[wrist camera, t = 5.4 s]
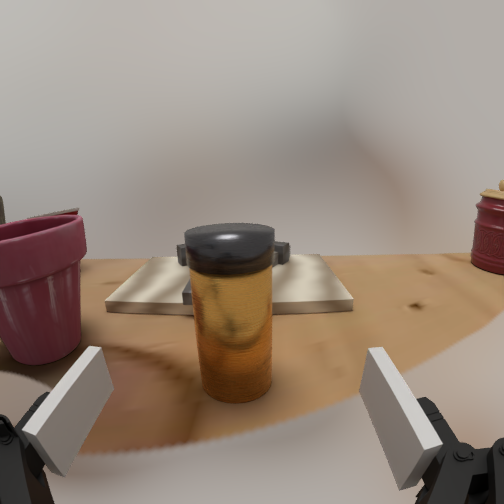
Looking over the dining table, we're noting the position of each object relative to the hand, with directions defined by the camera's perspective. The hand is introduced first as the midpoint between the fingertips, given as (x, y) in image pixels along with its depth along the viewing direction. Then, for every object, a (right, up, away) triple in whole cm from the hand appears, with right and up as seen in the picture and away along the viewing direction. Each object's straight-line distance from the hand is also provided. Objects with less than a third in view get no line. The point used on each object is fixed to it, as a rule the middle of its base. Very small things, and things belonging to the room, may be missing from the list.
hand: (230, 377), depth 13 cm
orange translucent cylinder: (0, -4, +9) cm, 10 cm away
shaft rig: (-2, +1, +31) cm, 31 cm away
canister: (+51, +3, +33) cm, 61 cm away
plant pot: (-21, -4, +12) cm, 25 cm away
